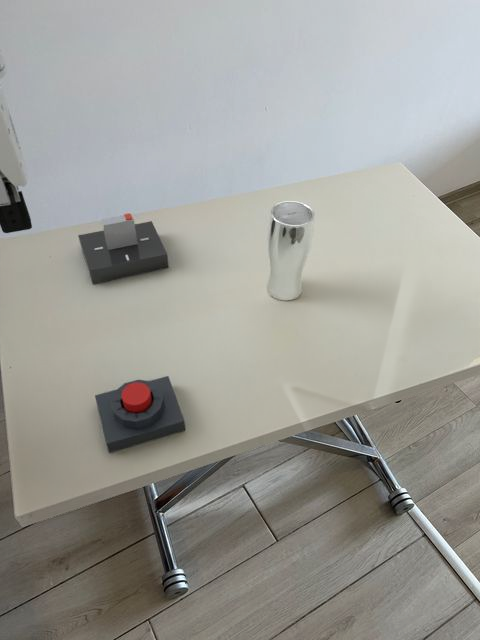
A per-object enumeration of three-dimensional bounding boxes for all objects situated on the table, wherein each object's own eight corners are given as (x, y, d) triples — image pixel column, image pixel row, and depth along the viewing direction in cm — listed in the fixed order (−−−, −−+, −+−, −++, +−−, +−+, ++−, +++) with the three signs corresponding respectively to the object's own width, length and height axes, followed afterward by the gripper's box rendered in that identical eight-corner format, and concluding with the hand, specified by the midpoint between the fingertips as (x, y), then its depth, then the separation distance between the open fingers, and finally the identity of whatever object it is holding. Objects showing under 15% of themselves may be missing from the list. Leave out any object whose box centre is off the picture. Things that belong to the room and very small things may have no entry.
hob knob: (108, 250, 89) (102, 224, 85) (106, 244, 90) (100, 218, 86) (137, 244, 91) (133, 218, 87) (135, 238, 92) (131, 212, 88)
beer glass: (258, 296, 88) (262, 220, 77) (271, 271, 92) (277, 195, 81) (298, 307, 87) (309, 231, 76) (309, 281, 91) (321, 205, 80)
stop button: (126, 416, 67) (124, 408, 66) (120, 394, 69) (118, 386, 68) (154, 408, 68) (153, 400, 67) (148, 387, 70) (146, 379, 69)
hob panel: (92, 284, 88) (88, 269, 86) (81, 249, 94) (77, 234, 92) (168, 267, 92) (167, 253, 89) (153, 234, 98) (151, 220, 95)
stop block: (109, 453, 67) (103, 436, 64) (97, 404, 72) (92, 386, 69) (185, 430, 70) (183, 413, 67) (169, 385, 75) (167, 367, 72)
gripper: (7, 86, 44) (60, 259, 58) (-4, 26, 53) (43, 188, 67) (-93, 96, 42) (-14, 274, 56) (-87, 32, 51) (-21, 198, 65)
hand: (17, 227), depth 61 cm, fingers closed
